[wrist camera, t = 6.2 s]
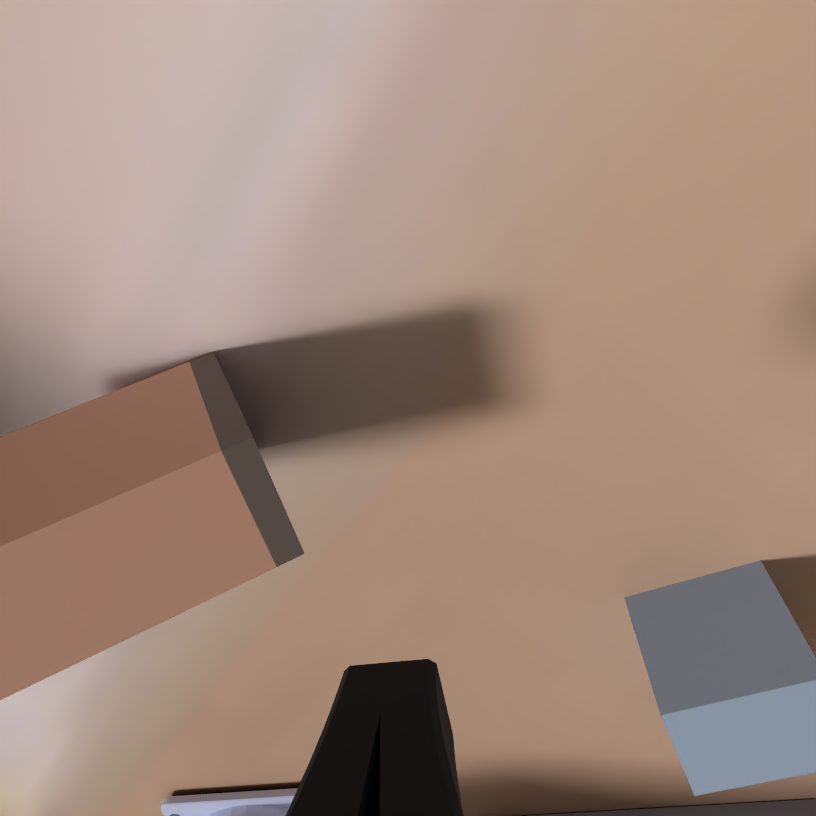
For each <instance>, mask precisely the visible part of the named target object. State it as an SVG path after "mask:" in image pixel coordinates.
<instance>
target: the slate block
mask: <svg viewBox="0 0 816 816" xmlns="http://www.w3.org/2000/svg"><path fill="white" fill-rule="evenodd" d="M624 598H625V601H626V604H627V608H628V611H629V614H630V617H631V621H632V624H633V627H634V630H635V633H636V637H637V640H638V643H639V646H640V650H641V653H642V656H643V659H644V663H645V666H646V669H647V672H648V675H649V679H650V682H651V685H652V688H653V692H654V695H655V698H656V701H657V704H658V708H659V711H660V714H661V717H662V719H663V722H664V724H665V726H666V729H667V731H668V734H669V736H670V738H671V741H672V743H673V746H674V748H675V750H676V753H677V755H678V758H679V760H680V762H681V765H682V767H683V770H684V772H685V774H686V777H687V779H688V782H689V784H690V786H691V789H692V791H693V794H694V796H698V795H703V794H708V793H713V792H718V791H723V790H728V789H733V788H738V787H743V786H749V785H754V784H759V783H764V782H769V781H774V780H779V779H784V778H789V777H794V776H799V775H804V774H809V773H814V772H816V657H815V656H814V654H813V652H812V650H811V648H810V647H809V645H808V643H807V641H806V640H805V638H804V636H803V634H802V633H801V631H800V629H799V627H798V625H797V624H796V622H795V620H794V618H793V617H792V615H791V613H790V611H789V609H788V608H787V606H786V604H785V602H784V601H783V599H782V597H781V595H780V593H779V592H778V590H777V588H776V586H775V585H774V583H773V581H772V579H771V578H770V576H769V574H768V572H767V570H766V569H765V567H764V565H763V563H762V562H761V561H757V562H754V563H750V564H746V565H743V566H739V567H735V568H731V569H728V570H724V571H720V572H717V573H713V574H709V575H706V576H702V577H698V578H695V579H691V580H687V581H683V582H680V583H676V584H672V585H669V586H665V587H661V588H658V589H654V590H650V591H647V592H643V593H639V594H636V595H632V596H628V597H624Z"/></svg>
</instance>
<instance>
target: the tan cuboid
mask: <svg viewBox="0 0 816 816" xmlns="http://www.w3.org/2000/svg"><path fill="white" fill-rule="evenodd" d="M302 554H304V551H303V549H302V547H301V545H300V542H299V540H298V538H297V536H296V533H295V531H294V529H293V527H292V524H291V522H290V520H289V518H288V515H287V513H286V511H285V509H284V506H283V504H282V502H281V500H280V497H279V495H278V493H277V491H276V488H275V486H274V484H273V482H272V479H271V477H270V475H269V473H268V470H267V468H266V466H265V464H264V461H263V458H262V456H261V454H260V452H259V449H258V447H257V445H256V443H255V440H254V438H253V436H252V434H251V432H250V430H249V427H248V425H247V423H246V421H245V419H244V416H243V414H242V412H241V410H240V408H239V406H238V403H237V401H236V399H235V397H234V395H233V392H232V390H231V388H230V386H229V384H228V382H227V380H226V377H225V375H224V373H223V371H222V369H221V367H220V364H219V362H218V360H217V358H216V356H215V353H214V352H212V353H209V354H207V355H204V356H202V357H199V358H197V359H194V360H192V361H189V362H187V363H184V364H182V365H179V366H177V367H174V368H172V369H169V370H167V371H164V372H162V373H159V374H157V375H154V376H152V377H149V378H147V379H144V380H142V381H139V382H136V383H134V384H131V385H129V386H126V387H124V388H121V389H119V390H116V391H114V392H111V393H109V394H106V395H104V396H101V397H99V398H96V399H94V400H91V401H89V402H86V403H84V404H81V405H79V406H76V407H74V408H71V409H69V410H66V411H64V412H61V413H59V414H56V415H54V416H51V417H49V418H46V419H44V420H41V421H39V422H36V423H34V424H31V425H29V426H26V427H24V428H21V429H19V430H16V431H14V432H11V433H9V434H6V435H4V436H1V437H0V700H1V699H3V698H5V697H8V696H10V695H12V694H14V693H16V692H18V691H20V690H22V689H24V688H26V687H28V686H30V685H32V684H35V683H37V682H39V681H41V680H43V679H45V678H47V677H49V676H51V675H53V674H55V673H57V672H59V671H62V670H64V669H66V668H68V667H70V666H72V665H74V664H76V663H78V662H80V661H82V660H84V659H86V658H89V657H91V656H93V655H95V654H97V653H99V652H101V651H103V650H105V649H107V648H109V647H111V646H113V645H116V644H118V643H120V642H122V641H124V640H126V639H128V638H130V637H132V636H134V635H136V634H138V633H140V632H143V631H145V630H147V629H149V628H151V627H153V626H155V625H157V624H159V623H161V622H163V621H165V620H167V619H170V618H172V617H174V616H176V615H178V614H180V613H182V612H184V611H186V610H188V609H190V608H192V607H194V606H197V605H199V604H201V603H203V602H205V601H207V600H209V599H211V598H213V597H215V596H217V595H219V594H221V593H224V592H226V591H228V590H230V589H232V588H234V587H236V586H238V585H240V584H242V583H244V582H246V581H248V580H251V579H253V578H255V577H257V576H259V575H261V574H263V573H265V572H267V571H269V570H271V569H273V568H275V567H278V566H280V565H282V564H284V563H286V562H288V561H290V560H292V559H294V558H296V557H298V556H300V555H302Z"/></svg>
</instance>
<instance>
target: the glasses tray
mask: <svg viewBox="0 0 816 816" xmlns="http://www.w3.org/2000/svg"><path fill="white" fill-rule="evenodd" d="M529 816H816V799H807V800H790V801H773V802H755V803H738V804H720V805H703V806H686V807H668V808H651V809H634V810H616V811H599V812H582V813H564V814H547V815H529Z"/></svg>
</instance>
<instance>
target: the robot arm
mask: <svg viewBox="0 0 816 816" xmlns="http://www.w3.org/2000/svg"><path fill="white" fill-rule="evenodd" d="M161 811H162V812H163V814H164V815H165V816H463V810H462V805H461V799H460V793H459V786H458V779H457V771H456V763H455V753H454V741H453V733H452V729H451V724H450V720H449V716H448V712H447V707H446V703H445V699H444V694H443V690H442V686H441V681H440V677H439V673H438V668H437V664H436V663H434V662H433V661H431V660H429V659H423V660H411V661H400V662H389V663H377V664H366V665H355V666H349V667H348V668H347V669H346V670H345V671H344V674H343V677H342V680H341V683H340V686H339V689H338V691H337V694H336V697H335V700H334V702H333V705H332V708H331V711H330V713H329V716H328V718H327V721H326V724H325V726H324V729H323V731H322V734H321V736H320V738H319V741H318V743H317V746H316V748H315V751H314V753H313V755H312V758H311V760H310V762H309V765H308V767H307V769H306V771H305V774H304V776H303V778H302V780H301V782H300V785H299V787H298V788H291V789H276V790H260V791H245V792H229V793H214V794H198V795H183V796H170V797H167V798H165V799H164V800H163V803H162V806H161Z"/></svg>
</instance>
